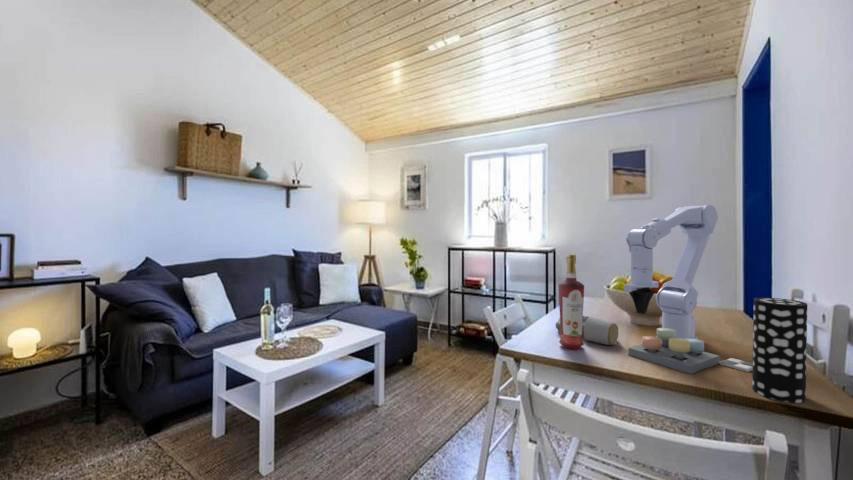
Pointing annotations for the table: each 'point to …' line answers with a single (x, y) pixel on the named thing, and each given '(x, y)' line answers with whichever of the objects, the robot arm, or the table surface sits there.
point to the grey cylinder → (600, 331)
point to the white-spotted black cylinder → (780, 349)
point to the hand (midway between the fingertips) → (641, 313)
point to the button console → (668, 359)
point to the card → (738, 364)
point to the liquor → (571, 307)
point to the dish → (582, 325)
